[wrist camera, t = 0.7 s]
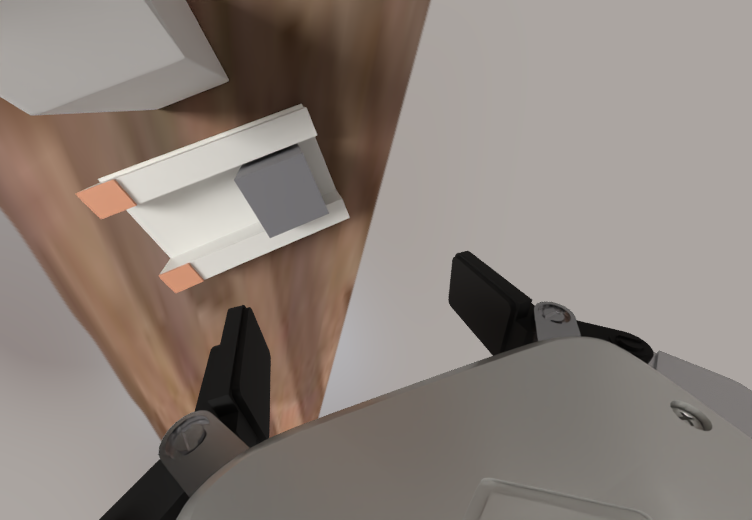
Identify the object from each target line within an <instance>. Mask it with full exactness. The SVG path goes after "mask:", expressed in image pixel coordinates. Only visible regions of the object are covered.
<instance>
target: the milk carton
mask: <svg viewBox="0 0 752 520" xmlns="http://www.w3.org/2000/svg"><path fill="white" fill-rule="evenodd" d="M228 81H229V79H228V77H227V75H226V73H225V72H224V70H223V68H222V66H221V64H220V62H219V61H218V59H217V57H216V55H215V53H214V51H213V49H212V48H211V46H210V44H209V42H208V40H207V38H206V37H205V35H204V33H203V31H202V29H201V27H200V26H199V24H198V22H197V20H196V18H195V16H194V14H193V13H192V11H191V9H190V7H189V5H188V3H187V2H186V0H0V97H2V98H3V99H5V100H6V101H8V102H10V103H11V104H13V105H15V106H16V107H18V108H20V109H21V110H23V111H24V112H26V113H28V114H29V115H51V114H72V113H94V112H115V111H136V110H156V109H160V108H162V107H165V106H168V105H170V104H173V103H175V102H178V101H180V100H183V99H186V98H188V97H191V96H193V95H196V94H198V93H201V92H203V91H206V90H209V89H211V88H214V87H216V86H219V85H221V84H224V83H226V82H228Z"/></svg>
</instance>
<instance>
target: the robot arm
mask: <svg viewBox="0 0 752 520" xmlns="http://www.w3.org/2000/svg"><path fill="white" fill-rule="evenodd" d="M531 302H532V299H530V298H529V297H528V296H526V295H525V294H524V293H523V292H521V291H520V290H519V289H517V288H516V287H515V286H514V285H512V284H511V283H510V282H508V281H507V280H506V279H504V278H503V277H502V276H501V275H499V274H498V273H496V272H495V271H494V270H493V269H491V268H490V267H489V266H488V265H486V264H485V263H484V262H482V261H481V260H480V259H479V258H477V257H476V256H475V255H473V254H472V253H471V252H469V251H465V252H461V253H457V254H456V255H455V257H454V258H453V260H452V270H451V279H450V290H449V304H450V306H451V307H452V308H453V309H454V311H455V312H456V313H457V314H458V315H459V316H460V318H461V319H462V320H463V321H464V322H465V323H466V325H467V326H468V327H469V328H470V329H471V330H472V332H473V333H474V334H475V335H476V336H477V337H478V339H479V340H480V341H481V342H482V343H483V344H484V346H485V347H486V348H487V349H488V350H489V351H490V353H491V354H492V355H493V356H492V357H489V358H486V359H483V360H480V361H477V362H474V363H471V364H469V365H466V366H463V367H460V368H457V369H454V370H451V371H449V372H446V373H443V374H440V375H437V376H435V377H432V378H429V379H426V380H423V381H420V382H418V383H415V384H412V385H409V386H407V387H404V388H401V389H398V390H395V391H392V392H390V393H387V394H384V395H381V396H379V397H376V398H373V399H370V400H367V401H365V402H362V403H360V404H357V405H354V406H351V407H348V408H345V409H343V410H340V411H337V412H335V413H332V414H329V415H326V416H324V417H321V418H318V419H316V420H313V421H310V422H308V423H305V424H303V425H300V426H297V427H295V428H292V429H290V430H287V431H285V432H283V433H280V434H278V435H276V436H273V437H271V438H269V422H270V367H271V357H270V352H269V349H268V347H267V344H266V342H265V340H264V337H263V335H262V332H261V330H260V328H259V325H258V323H257V321H256V318H255V316H254V313H253V311H252V309H251V308H250V307H249V308H246V307H245V305H242V306H238V307H234V308H230V309H228V312H227V317H226V321H225V325H224V330H223V334H222V339H221V343H220V345H217V346H214V347H213V348H212V349H211V351H210V355H209V359H208V362H207V366H206V370H205V374H204V378H203V382H202V386H201V389H200V393H199V397H198V401H197V405H196V409H195V412H192V413H190V414H188V415H186V416H184V417H183V418H181V419H180V420H179V421H177V422H176V423H175V424H174V425H173V426H172V427H171V428H170V429H169V430H168V431H167V433H166V434H165V436H164V437H163V439H162V441H161V444H160V446H159V454H158V455H159V457H160V460H159V461H158V462H157V463H155V465H154V466H153V467H151V468H150V469H149V471H147V472H146V474H145V475H143V476H142V477H141V478H140V479H139V480H138V481H137V483H135V484H134V485H133V487H132V488H130V489H129V490H128V491H127V492H126V494H124V495H123V496H122V497H121V498H120V499H119V500H118V502H116V503H115V504H114V505H113V506H112V507H111V508H110V509H109V510H108V511H107V512H106V513H105V514H104V515H103V516H102V517H101V518H100V519H99V520H752V391H751V390H750V389H748V388H747V387H745V386H743V385H742V384H740V383H738V382H736V381H734V380H732V379H730V378H727V377H725V376H722V375H720V374H717V373H715V372H712V371H710V370H707V369H705V368H702V367H699V366H697V365H694V364H692V363H689V362H687V361H684V360H682V359H679V358H677V357H674V356H671V355H669V354H667V353H664V352H662V351H658V352H657V353H655V352H653V350H652V349H651V347H650V346H649V345H648V344H647V343H646V342H645V341H643V340H641V339H640V338H639V337H636V336H634V335H632V334H630V333H627V332H623V331H619V330H615V329H611V328H606V327H602V326H598V325H594V324H590V323H585V322H581V321H577V320H576V318H575V316H574V314H573V313H572V312H571V311H570V310H569V309H567V308H566V307H564V306H562V305H560V304H557V303H553V302H540V303H538V304H536V305H535V306H534V305H533V304H532V303H531Z"/></svg>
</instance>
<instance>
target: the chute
mask: <svg viewBox="0 0 752 520" xmlns="http://www.w3.org/2000/svg"><path fill="white" fill-rule="evenodd" d="M315 136H317V133H316V130H315V128H314V125H313V123H312V120H311V118H310V115H309V112H308V110H307V107H303V105H302V104H299V105H296V106H293V107H291V108H288V109H285V110H283V111H280V112H277V113H274V114H272V115H269V116H266V117H264V118H261V119H258V120H256V121H253V122H250V123H247V124H245V125H242V126H239V127H237V128H234V129H231V130H229V131H226V132H223V133H220V134H218V135H215V136H212V137H210V138H207V139H204V140H201V141H199V142H196V143H193V144H191V145H188V146H185V147H183V148H180V149H177V150H174V151H172V152H169V153H166V154H164V155H161V156H158V157H155V158H153V159H150V160H147V161H145V162H142V163H139V164H137V165H134V166H131V167H128V168H126V169H123V170H120V171H118V172H115V173H112V174H109V175H107V176H104V177H102V178H99V179H98V180H99V181H100V183H98V184H96V185H93V186H91V187H89V188H87V189H84V190H82V191H80V192H78V193H76V195H77V196H78V197H79V198H80V199H81V200H82V201H83V202H84V203H85V204H86V205H87V206H88V207H89V208H90V209H91V210H92V211H93V212H94V213H95V214H96V215H97V216H98V217H99V218H100V219H103V218H106V217H108V216H111V215H114V214H116V213H119V212H121V211H124V210H127V211H128V213H129V214H130V215H131V216H132V217H133V218H134V219H135V220H136V221H137V222H138V223H139V224H140V226H141V227H142V228H143V229H144V230H145V231H146V232H147V233H148V234H149V235H150V236H151V237H152V239H153V240H154V241H155V242H156V243H157V244H158V245H159V246H160V247H161V248H162V249H163V250H164V251H165V253H166V254H167V255H168V256H169V257H170V260H169V261H168V263H167V264H166V266H165V267H164V269H163V270H162V272H161V273H160V275H159V277H160V278H161V279H162V280H163V281H164V282H165V283H166V284H167V285H168V286H169V287H170V288H171V289H172V290H173V291H174V292H175V293H177V292H180V291H182V290H184V289H187V288H189V287H191V286H194V285H196V284H198V283H201V282H203V281H204V280H205V279H207V278H209V277H212V276H214V275H217V274H219V273H221V272H224V271H226V270H228V269H231V268H233V267H235V266H238V265H240V264H242V263H245V262H247V261H249V260H252V259H254V258H256V257H259V256H261V255H263V254H266V253H268V252H270V251H273V250H275V249H277V248H280V247H282V246H285V245H287V244H289V243H292V242H294V241H296V240H299V239H301V238H303V237H306V236H308V235H310V234H313V233H315V232H317V231H320V230H322V229H324V228H327V227H329V226H331V225H334V224H336V223H338V222H341V221H343V220H345V219H348V218H350V217H349V214H348V212H347V209H346V207H345V204H344V202H343V199H342V197H341V196H340V195H339V193H338V192H337V190H336V188H335V186H334V183H333V181H332V178H331V176H330V173H329V171H328V168H327V166H326V163H325V161H324V158H323V156H322V153H321V151H320V148H319V146H318V143H317V141H316V138H315ZM296 143H297V144H298V145H299V147H300V149H301V151H302V153H303V155H304V157H305V159H306V162H307V164H308V166H309V168H310V171H311V173H312V175H313V178H314V180H315V182H316V184H317V187H318V189H319V191H320V194H321V196H322V198H323V200H324V203H325V205H326V207H327V210H328V212H329V214H327V215H324V216H322V217H320V218H317V219H315V220H312V221H310V222H308V223H305V224H303V225H301V226H298V227H296V228H293V229H291V230H289V231H286V232H284V233H282V234H279V235H277V236H274V237H272V238H269V236H268V234H267V233H266V231H265V229H264V228H263V226H262V225H261V223H260V221H259V220H258V218H257V217H256V215H255V213H254V212H253V210H252V208H251V207H250V205H249V204H248V202H247V200H246V199H245V197H244V196H243V194H242V192H241V191H240V189H239V187H238V186H237V184H236V183H235V181H234V179H235V177H236V175H237V173H238V171H239V169H240V167H241V166H242V164H244V163H247V162H250V161H252V160H255V159H257V158H260V157H263V156H265V155H268V154H270V153H273V152H276V151H278V150H281V149H283V148H286V147H289V146H291V145H294V144H296Z"/></svg>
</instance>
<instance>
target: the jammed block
mask: <svg viewBox="0 0 752 520" xmlns="http://www.w3.org/2000/svg"><path fill="white" fill-rule="evenodd" d="M234 181H235V183H236V184H237V186H238V187H239V189H240V191H241V192H242V194H243V196H244V197H245V199H246V200H247V202H248V204H249V205H250V207H251V208H252V210H253V212H254V213H255V215H256V217H257V218H258V220H259V221H260V223H261V225H262V226H263V228H264V229H265V231H266V233H267V234H268V236H269V238H272V237H274V236H277V235H279V234H282V233H284V232H286V231H289V230H291V229H293V228H296V227H298V226H301V225H303V224H305V223H308V222H310V221H312V220H315V219H317V218H320V217H322V216H324V215H327V214H329V212H328V210H327V207H326V205H325V203H324V200H323V198H322V196H321V194H320V191H319V189H318V187H317V184H316V182H315V180H314V178H313V175H312V173H311V171H310V168H309V166H308V164H307V162H306V159H305V157H304V155H303V153H302V151H301V149H300V147H299V145H298V144H297V143H296V144H294V145H291V146H289V147H286V148H283V149H281V150H278V151H276V152H273V153H270V154H268V155H265V156H263V157H260V158H257V159H255V160H252V161H250V162H247V163H244V164H242V166H241V167H240V169H239V171H238V173H237V175H236V177H235V179H234Z"/></svg>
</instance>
